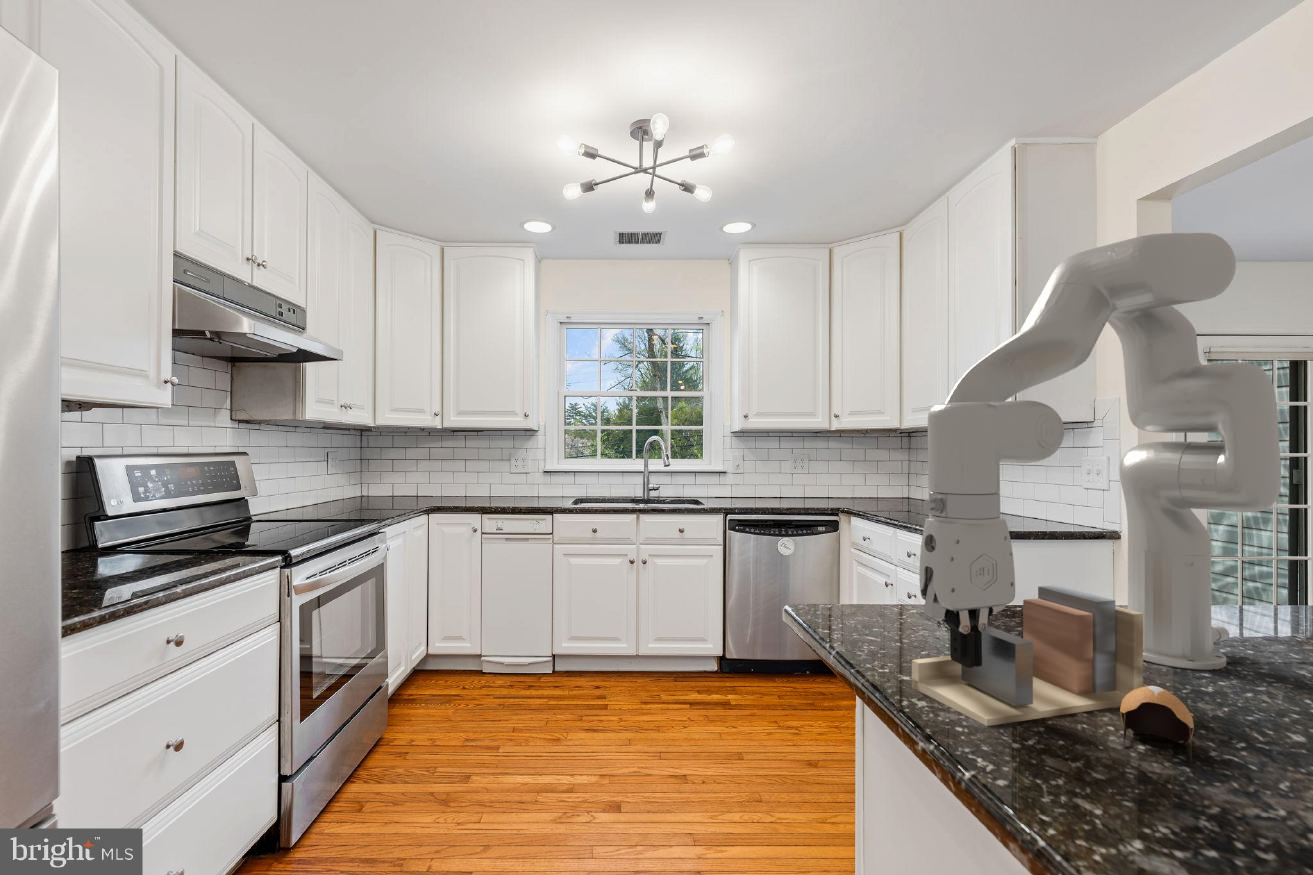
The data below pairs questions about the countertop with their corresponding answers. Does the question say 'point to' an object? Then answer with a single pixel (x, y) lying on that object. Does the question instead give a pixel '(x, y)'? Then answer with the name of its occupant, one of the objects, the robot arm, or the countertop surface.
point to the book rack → (1054, 660)
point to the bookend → (1004, 668)
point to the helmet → (1157, 715)
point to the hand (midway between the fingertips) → (965, 662)
